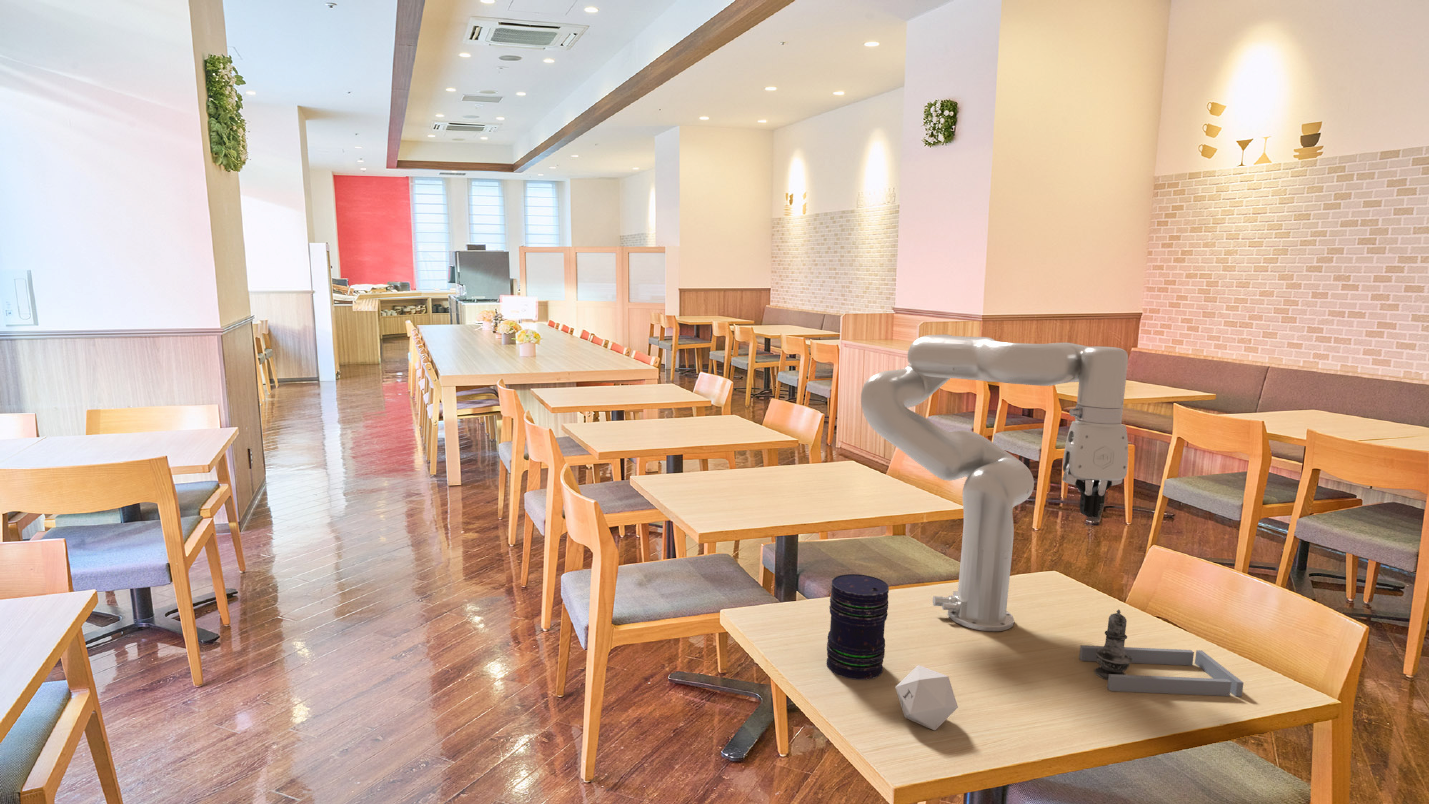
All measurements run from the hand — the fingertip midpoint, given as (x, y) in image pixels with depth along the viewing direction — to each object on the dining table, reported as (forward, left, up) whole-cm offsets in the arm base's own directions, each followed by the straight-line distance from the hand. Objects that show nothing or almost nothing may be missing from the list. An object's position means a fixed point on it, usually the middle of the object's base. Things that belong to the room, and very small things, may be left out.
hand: (1088, 514), depth 150 cm
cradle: (+9, -10, -26) cm, 29 cm away
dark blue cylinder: (-43, -11, -26) cm, 51 cm away
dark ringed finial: (+2, -10, -26) cm, 28 cm away
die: (-35, -28, -26) cm, 52 cm away
